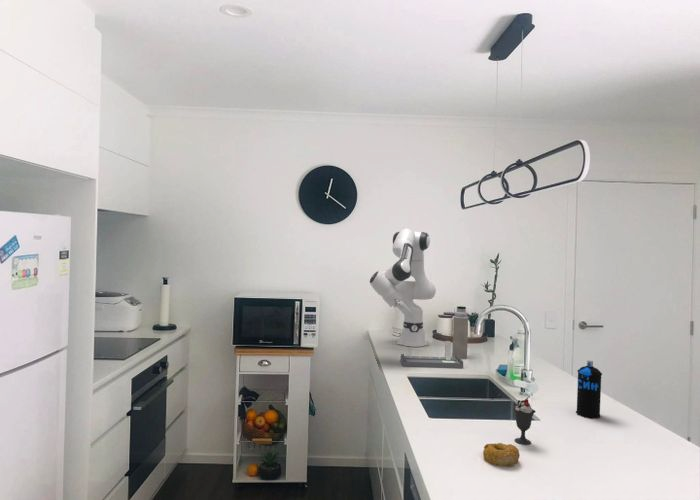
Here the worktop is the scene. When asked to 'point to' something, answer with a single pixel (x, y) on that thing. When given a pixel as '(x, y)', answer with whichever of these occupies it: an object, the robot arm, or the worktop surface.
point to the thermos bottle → (460, 333)
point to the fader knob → (447, 350)
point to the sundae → (523, 419)
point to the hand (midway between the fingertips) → (412, 318)
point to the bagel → (501, 454)
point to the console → (431, 362)
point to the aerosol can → (589, 391)
